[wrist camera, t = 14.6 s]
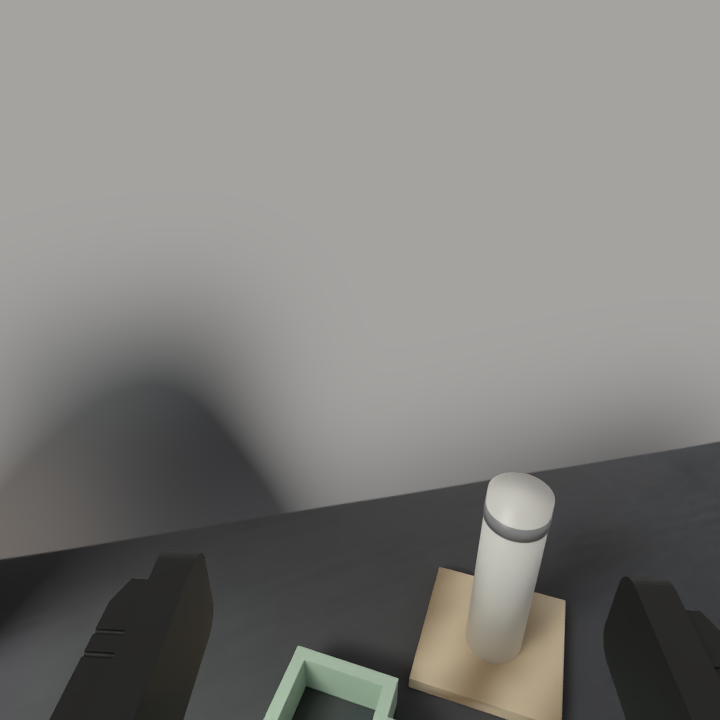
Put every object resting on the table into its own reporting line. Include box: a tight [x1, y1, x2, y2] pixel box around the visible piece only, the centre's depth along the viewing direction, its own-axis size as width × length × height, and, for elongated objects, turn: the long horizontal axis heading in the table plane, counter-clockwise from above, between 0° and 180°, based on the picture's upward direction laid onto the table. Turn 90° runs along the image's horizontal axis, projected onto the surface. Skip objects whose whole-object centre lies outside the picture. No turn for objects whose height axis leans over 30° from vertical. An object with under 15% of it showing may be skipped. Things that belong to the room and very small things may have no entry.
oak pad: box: [409, 567, 565, 720], centre depth 42 cm, size 10×10×1 cm
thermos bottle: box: [465, 472, 555, 664], centre depth 39 cm, size 4×4×14 cm
